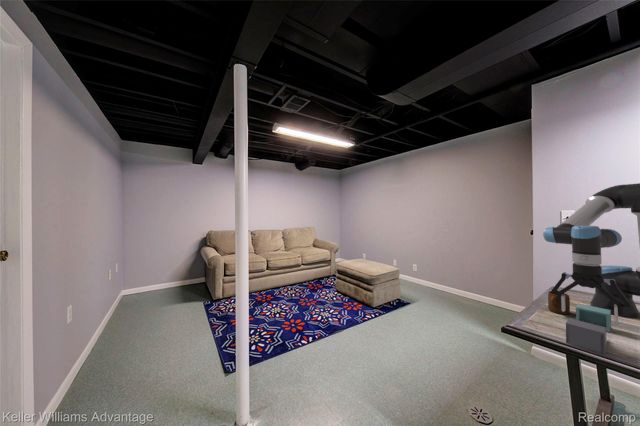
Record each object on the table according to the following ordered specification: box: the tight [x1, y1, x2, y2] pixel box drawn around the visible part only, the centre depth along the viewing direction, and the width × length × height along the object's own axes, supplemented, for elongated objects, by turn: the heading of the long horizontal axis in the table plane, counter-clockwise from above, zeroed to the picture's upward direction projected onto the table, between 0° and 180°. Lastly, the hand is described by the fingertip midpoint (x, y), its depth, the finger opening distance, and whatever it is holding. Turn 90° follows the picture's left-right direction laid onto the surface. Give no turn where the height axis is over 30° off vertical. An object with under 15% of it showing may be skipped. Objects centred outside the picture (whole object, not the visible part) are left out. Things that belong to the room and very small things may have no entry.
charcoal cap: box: [565, 317, 608, 356], centre depth 85 cm, size 7×9×8 cm
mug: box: [547, 290, 571, 316], centre depth 113 cm, size 12×8×9 cm, turn 118°
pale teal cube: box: [575, 303, 612, 333], centre depth 100 cm, size 7×9×8 cm
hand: (588, 316), depth 89 cm, fingers open, 13 cm apart
